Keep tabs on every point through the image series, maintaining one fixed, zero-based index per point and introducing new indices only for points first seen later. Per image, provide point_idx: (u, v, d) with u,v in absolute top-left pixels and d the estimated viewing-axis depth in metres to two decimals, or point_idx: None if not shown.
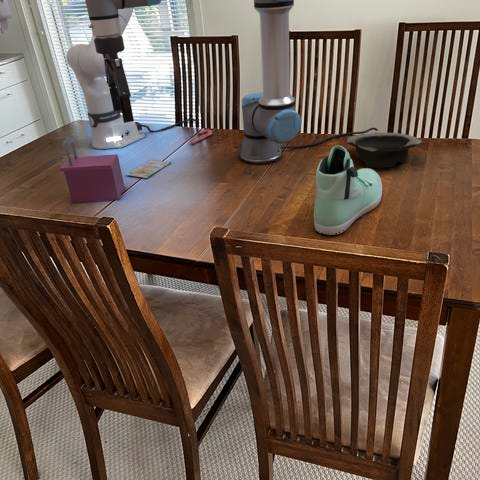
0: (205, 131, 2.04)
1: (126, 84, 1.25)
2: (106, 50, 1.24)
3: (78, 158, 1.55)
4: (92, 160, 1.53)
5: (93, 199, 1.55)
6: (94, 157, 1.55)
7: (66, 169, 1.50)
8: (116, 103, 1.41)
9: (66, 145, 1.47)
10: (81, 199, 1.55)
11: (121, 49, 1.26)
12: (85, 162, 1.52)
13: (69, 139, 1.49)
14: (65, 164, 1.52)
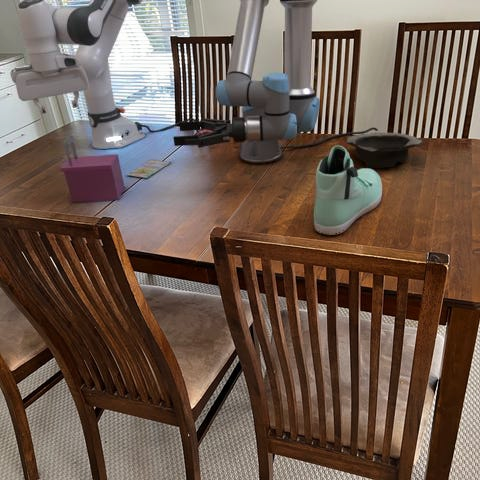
0: (205, 131, 2.04)
1: None
2: None
3: (78, 158, 1.55)
4: (92, 160, 1.53)
5: (93, 199, 1.55)
6: (94, 157, 1.55)
7: (66, 169, 1.50)
8: None
9: (66, 145, 1.47)
10: (81, 199, 1.55)
11: None
12: (85, 162, 1.52)
13: (69, 139, 1.49)
14: (65, 164, 1.52)
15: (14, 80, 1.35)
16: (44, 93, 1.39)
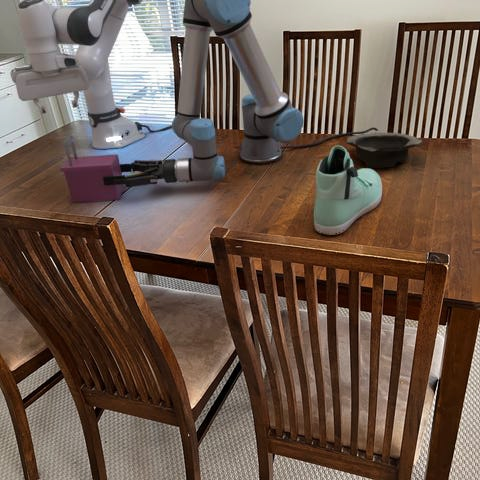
0: None
1: None
2: None
3: (78, 158, 1.55)
4: (92, 160, 1.53)
5: (93, 199, 1.55)
6: (94, 157, 1.55)
7: (66, 169, 1.50)
8: None
9: (66, 145, 1.47)
10: (81, 199, 1.55)
11: None
12: (85, 162, 1.52)
13: (69, 139, 1.49)
14: (65, 164, 1.52)
15: (14, 80, 1.35)
16: (44, 93, 1.39)
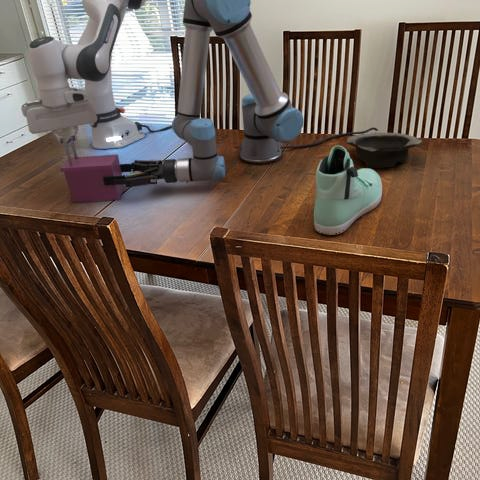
0: None
1: None
2: None
3: (78, 158, 1.55)
4: (92, 160, 1.53)
5: (93, 199, 1.55)
6: (94, 157, 1.55)
7: (66, 170, 1.50)
8: None
9: (66, 145, 1.47)
10: (81, 199, 1.55)
11: None
12: (85, 162, 1.52)
13: (69, 139, 1.49)
14: (65, 164, 1.52)
15: (25, 114, 1.41)
16: (53, 126, 1.44)
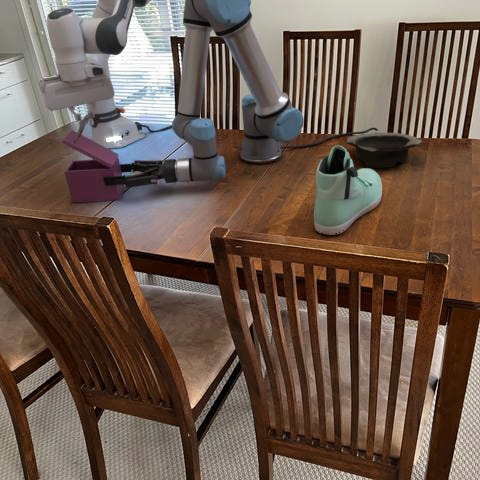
0: None
1: None
2: None
3: (81, 137, 1.51)
4: (94, 148, 1.50)
5: (93, 199, 1.55)
6: (97, 145, 1.53)
7: (68, 144, 1.45)
8: None
9: (83, 125, 1.43)
10: (81, 199, 1.55)
11: None
12: (88, 146, 1.49)
13: (87, 120, 1.45)
14: (68, 137, 1.46)
15: (43, 90, 1.35)
16: (72, 102, 1.40)
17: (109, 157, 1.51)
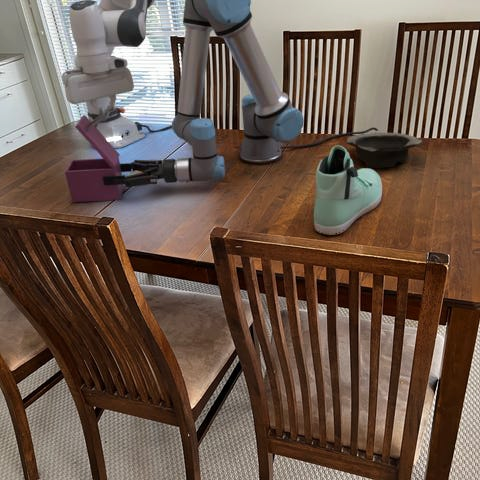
0: None
1: None
2: None
3: None
4: (101, 142, 1.49)
5: (94, 199, 1.54)
6: (103, 138, 1.51)
7: (80, 131, 1.42)
8: None
9: (104, 119, 1.42)
10: (81, 199, 1.54)
11: None
12: (96, 138, 1.47)
13: None
14: (82, 123, 1.43)
15: (65, 83, 1.33)
16: (94, 95, 1.38)
17: (112, 155, 1.51)
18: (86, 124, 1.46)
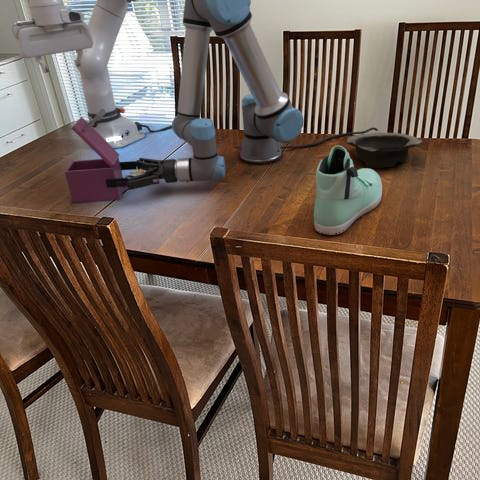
0: None
1: None
2: None
3: (89, 127, 1.50)
4: (99, 142, 1.50)
5: (94, 199, 1.55)
6: (101, 139, 1.52)
7: (77, 132, 1.43)
8: None
9: (98, 119, 1.43)
10: (82, 199, 1.55)
11: None
12: (94, 139, 1.48)
13: (103, 114, 1.45)
14: (78, 125, 1.45)
15: (16, 36, 1.28)
16: (48, 50, 1.32)
17: (111, 155, 1.51)
18: (83, 125, 1.47)
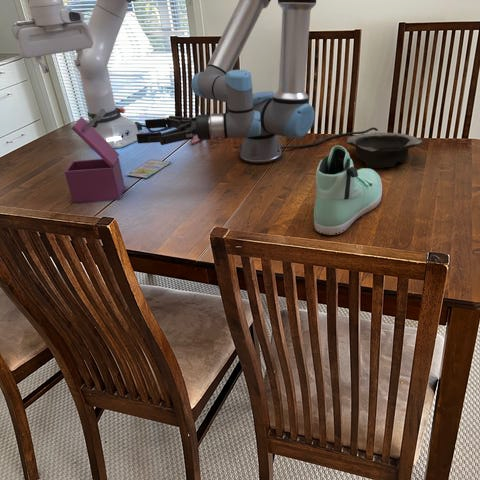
0: None
1: None
2: None
3: (89, 127, 1.50)
4: (99, 142, 1.50)
5: (94, 199, 1.55)
6: (101, 139, 1.52)
7: (77, 132, 1.43)
8: None
9: (98, 119, 1.43)
10: (82, 199, 1.55)
11: None
12: (94, 139, 1.48)
13: (103, 114, 1.45)
14: (78, 124, 1.45)
15: (16, 36, 1.28)
16: (48, 50, 1.32)
17: (111, 155, 1.51)
18: (83, 125, 1.47)
